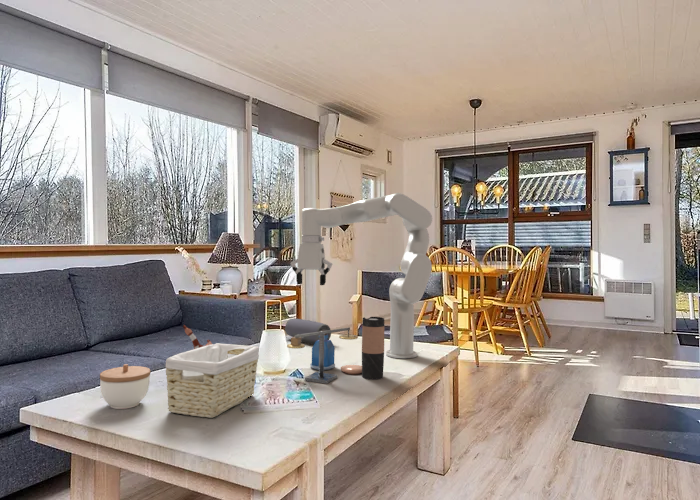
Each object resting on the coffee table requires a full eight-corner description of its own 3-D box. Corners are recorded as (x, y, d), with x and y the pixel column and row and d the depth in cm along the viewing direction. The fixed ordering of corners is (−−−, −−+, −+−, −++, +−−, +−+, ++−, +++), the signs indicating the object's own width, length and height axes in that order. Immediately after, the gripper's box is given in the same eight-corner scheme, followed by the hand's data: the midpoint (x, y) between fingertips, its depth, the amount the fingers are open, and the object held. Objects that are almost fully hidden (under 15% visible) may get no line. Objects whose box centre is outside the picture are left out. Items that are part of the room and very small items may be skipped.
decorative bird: (176, 356, 177) (193, 318, 177) (223, 375, 178) (240, 337, 179) (151, 377, 148) (171, 332, 149) (207, 400, 150) (227, 355, 150)
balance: (293, 372, 171) (294, 320, 171) (360, 380, 162) (361, 326, 161) (281, 377, 164) (282, 324, 163) (351, 387, 154) (352, 330, 154)
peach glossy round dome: (346, 367, 179) (346, 363, 179) (369, 369, 176) (369, 366, 176) (336, 372, 171) (336, 369, 171) (360, 375, 167) (360, 372, 167)
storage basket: (213, 389, 150) (214, 341, 150) (261, 395, 145) (261, 345, 145) (161, 414, 127) (162, 358, 127) (215, 422, 122) (216, 363, 122)
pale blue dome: (316, 363, 184) (316, 360, 184) (338, 366, 180) (338, 363, 180) (305, 369, 175) (306, 365, 175) (328, 371, 172) (328, 368, 172)
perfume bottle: (311, 365, 176) (312, 332, 176) (319, 361, 182) (319, 329, 182) (327, 367, 174) (327, 333, 174) (334, 363, 180) (334, 330, 179)
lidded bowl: (117, 416, 125) (117, 373, 125) (89, 406, 132) (90, 365, 132) (159, 403, 136) (160, 363, 136) (132, 394, 143) (132, 357, 143)
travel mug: (382, 380, 162) (383, 320, 162) (359, 378, 164) (360, 319, 164) (385, 374, 170) (386, 317, 170) (363, 373, 171) (364, 316, 171)
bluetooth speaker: (332, 344, 220) (332, 322, 220) (316, 347, 213) (317, 324, 213) (299, 337, 236) (299, 316, 235) (283, 339, 229) (284, 318, 229)
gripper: (335, 240, 189) (335, 284, 190) (295, 240, 195) (295, 283, 196) (328, 240, 182) (327, 286, 182) (286, 240, 188) (286, 284, 188)
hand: (310, 284), depth 189 cm, fingers open, 9 cm apart
